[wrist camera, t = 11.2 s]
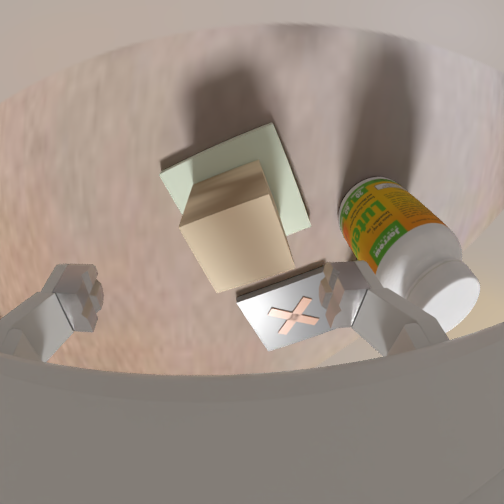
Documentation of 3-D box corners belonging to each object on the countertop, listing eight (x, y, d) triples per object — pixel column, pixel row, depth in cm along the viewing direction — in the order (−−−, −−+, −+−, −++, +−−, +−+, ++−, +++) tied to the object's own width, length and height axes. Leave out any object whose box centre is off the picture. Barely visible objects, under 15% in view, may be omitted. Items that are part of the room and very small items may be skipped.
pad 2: (267, 346, 26) (268, 352, 25) (236, 297, 22) (236, 303, 21) (339, 321, 25) (342, 327, 24) (323, 265, 21) (326, 271, 20)
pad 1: (212, 259, 20) (212, 265, 19) (161, 171, 16) (158, 175, 15) (309, 221, 19) (311, 227, 18) (271, 122, 15) (273, 124, 14)
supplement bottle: (348, 167, 17) (439, 259, 9) (413, 182, 17) (506, 265, 9) (327, 240, 20) (381, 354, 12) (389, 246, 20) (454, 343, 12)
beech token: (220, 239, 18) (217, 293, 14) (192, 184, 16) (178, 227, 12) (280, 218, 18) (295, 268, 13) (258, 159, 15) (268, 194, 11)
